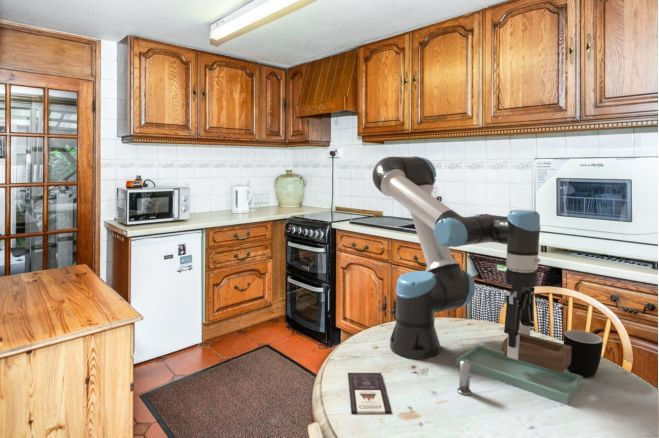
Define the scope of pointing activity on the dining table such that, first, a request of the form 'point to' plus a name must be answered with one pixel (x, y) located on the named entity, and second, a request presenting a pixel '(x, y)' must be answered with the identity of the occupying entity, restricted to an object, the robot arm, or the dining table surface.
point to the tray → (523, 374)
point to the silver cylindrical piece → (464, 377)
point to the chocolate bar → (368, 394)
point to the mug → (584, 352)
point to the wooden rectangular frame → (542, 352)
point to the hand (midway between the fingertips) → (518, 353)
